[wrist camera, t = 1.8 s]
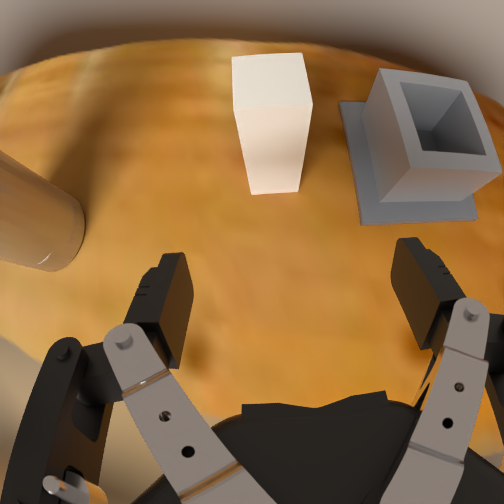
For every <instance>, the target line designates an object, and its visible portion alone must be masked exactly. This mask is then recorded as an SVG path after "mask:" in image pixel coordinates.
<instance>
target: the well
mask: <svg viewBox="0 0 504 504" xmlns="http://www.w3.org/2000/svg"><path fill="white" fill-rule="evenodd" d="M339 109H340V113H341V118H342V122H343V127H344V131H345V136H346V141H347V146H348V151H349V156H350V161H351V166H352V172H353V178H354V183H355V189H356V196H357V202H358V209H359V215H360V223H361V226H367V225H386V224H407V223H430V222H455V221H475V220H477V219H478V216H477V211H476V206H475V202H474V197H473V193H474V192H475V191H477V190H478V189H480V188H481V187H483V186H484V185H486V184H487V183H489V182H490V181H491V180H493V179H494V178H496V177H497V176H499V175H500V174H501V173H503V172H502V169H501V165H500V162H499V159H498V156H497V153H496V150H495V147H494V144H493V141H492V138H491V136H490V133H489V130H488V128H487V125H486V123H485V120H484V118H483V115H482V113H481V110H480V108H479V106H478V103H477V101H476V99H475V97H474V94H473V92H472V90H471V88H470V86H469V84H468V82H467V81H463V80H457V79H452V78H448V77H441V76H437V75H431V74H424V73H417V72H410V71H402V70H393V69H383V68H379V70H378V73H377V76H376V78H375V81H374V84H373V86H372V89H371V91H370V94H369V97H368V99H367V102H347V101H340V102H339Z"/></svg>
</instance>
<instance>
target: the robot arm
mask: <svg viewBox="0 0 504 504" xmlns="http://www.w3.org/2000/svg"><path fill="white" fill-rule="evenodd" d="M84 230H85V218H84V212H83V209H82V207H81V205H80V203H79V202H78V201H77V200H76V199H75V198H74V197H73V196H71V195H69V194H68V193H66V192H65V191H63V190H61V189H60V188H58V187H57V186H55V185H54V184H52V183H50V182H49V181H47V180H46V179H44V178H42V177H41V176H39V175H38V174H36V173H35V172H33V171H31V170H30V169H28V168H27V167H25V166H24V165H22V164H21V163H19V162H17V161H16V160H14V159H13V158H11V157H10V156H8V155H7V154H5V153H4V152H2V151H1V150H0V260H2V261H6V262H10V263H14V264H19V265H23V266H26V267H31V268H35V269H39V270H44V271H48V272H50V271H57V270H60V269H62V268H63V267H65V266H67V265H68V264H69V263H70V262H71V261H72V260H73V258H74V257H75V255H76V254H77V252H78V250H79V248H80V246H81V243H82V240H83V237H84ZM391 283H392V287H393V289H394V291H395V293H396V295H397V297H398V300H399V302H400V304H401V306H402V308H403V311H404V313H405V315H406V318H407V320H408V322H409V324H410V327H411V329H412V331H413V334H414V336H415V339H416V341H417V344H418V346H419V348H420V350H424V349H429V348H431V349H432V351H433V354H432V356H431V358H430V360H429V363H428V366H427V368H426V371H425V374H424V376H423V379H422V381H421V384H420V386H419V389H418V391H417V394H416V396H415V398H414V400H413V402H412V404H411V406H410V405H408V404H405V403H402V402H398V401H392V400H388V399H387V395H386V391H379V392H373V393H367V394H361V395H354V396H350V397H348V398H345V399H342V400H339V401H337V402H334V403H331V404H328V405H325V406H323V407H319V408H309V407H302V406H295V405H288V404H282V403H267V404H242V414H239V415H235V416H232V417H230V418H227V419H225V420H223V421H221V422H219V423H217V424H216V425H214V426H212V427H211V428H210V427H209V425H208V424H207V423H206V421H205V420H204V419H203V417H202V416H201V415H200V413H199V412H198V411H197V409H196V408H195V406H194V405H193V404H192V402H191V401H190V399H189V398H188V397H187V395H186V394H185V392H184V391H183V389H182V388H181V387H180V385H179V384H178V382H177V381H176V379H175V378H174V376H173V375H172V373H171V372H170V371H169V368H170V369H179V365H180V360H181V355H182V350H183V346H184V341H185V336H186V331H187V326H188V322H189V317H190V312H191V308H192V303H193V297H194V291H193V284H192V280H191V276H190V273H189V269H188V265H187V261H186V257H185V254H184V253H183V252H179V253H165V254H163V255H162V257H161V260H160V262H159V265H158V267H153V268H150V269H149V271H148V272H147V273H146V274H145V275H144V276H143V277H142V279H141V281H140V284H139V286H138V287H139V288H137V291H136V293H135V296H134V298H133V300H132V303H131V305H130V308H129V310H128V312H127V315H126V317H125V320H124V322H123V324H121V325H118V326H116V327H115V328H113V329H112V330H110V331H109V332H108V334H107V335H106V336H105V338H104V342H101V343H97V344H92V345H88V346H84V347H82V345H81V344H80V342H79V341H78V340H77V339H76V338H73V337H66V338H62V339H60V340H58V341H57V342H55V343H54V344H53V345H52V346H51V347H50V349H49V351H48V353H47V355H46V357H45V360H44V362H43V364H42V367H41V369H40V372H39V374H38V377H37V379H36V382H35V384H34V387H33V389H32V392H31V395H30V397H29V400H28V403H27V406H26V409H25V412H24V415H23V418H22V420H21V423H20V427H19V430H18V433H17V436H16V439H15V443H14V446H13V450H12V453H11V457H10V461H9V464H8V469H7V473H6V477H5V481H4V485H3V490H2V495H1V500H0V504H108V502H107V498H106V495H105V494H104V492H103V491H102V490H101V489H100V488H99V487H98V483H99V477H100V471H101V465H102V459H103V453H104V447H105V443H106V437H107V432H108V427H109V423H110V418H111V413H112V409H113V404H114V402H117V401H122V400H124V402H125V404H126V406H127V408H128V410H129V412H130V414H131V416H132V418H133V420H134V422H135V424H136V425H137V428H138V429H139V431H140V433H141V435H142V437H143V438H144V440H145V442H146V444H147V446H148V448H149V449H150V451H151V453H152V455H153V456H154V458H155V460H156V461H157V463H158V464H159V466H160V468H161V470H162V471H163V473H164V474H163V475H161V476H160V477H159V478H158V479H157V480H156V481H155V482H154V483H153V484H152V485H151V486H150V487H149V488H148V489H146V490H145V491H144V492H143V493H142V494H141V495H140V496H139V497H138V498H137V499H135V500H134V501H133V502H132V503H131V504H504V455H503V460H502V464H501V466H500V467H499V469H497V468H496V467H495V466H493V465H492V464H491V463H489V462H488V461H487V460H485V459H484V458H483V457H481V456H480V455H478V454H477V453H476V452H474V451H473V450H472V449H470V448H469V447H468V445H469V442H470V439H471V436H472V432H473V429H474V426H475V422H476V419H477V415H478V411H479V407H480V403H481V399H482V395H483V390H484V386H485V388H486V391H487V394H488V396H489V399H490V402H491V405H492V408H493V411H494V414H495V417H496V421H497V424H498V427H499V431H500V434H501V438H502V441H503V445H504V315H500V314H491V313H489V312H488V310H487V308H486V307H485V306H484V305H483V304H482V303H481V302H479V301H477V300H475V299H472V298H467V297H466V296H465V294H464V293H463V291H462V289H461V288H460V286H459V285H458V283H457V282H456V280H455V279H454V277H453V276H452V274H450V271H449V270H448V268H447V267H445V264H444V263H443V261H442V260H441V258H440V257H439V256H438V255H436V254H435V253H434V252H432V251H431V250H430V249H426V248H425V247H424V246H423V244H422V243H421V241H420V240H419V239H418V238H417V237H412V238H399V239H398V240H397V243H396V248H395V253H394V258H393V263H392V268H391Z"/></svg>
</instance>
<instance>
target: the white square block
mask: <svg viewBox="0 0 504 504" xmlns="http://www.w3.org/2000/svg"><path fill="white" fill-rule="evenodd" d="M232 82H233V110H234V115H235V119H236V124H237V129H238V133H239V138H240V143H241V147H242V152H243V157H244V162H245V166H246V171H247V176H248V181H249V186H250V190H251V195H255V194H269V193H285V192H298V190H299V184H300V178H301V173H302V167H303V161H304V156H305V150H306V144H307V138H308V132H309V126H310V119H311V113H312V107H313V103H312V98H311V93H310V88H309V83H308V78H307V73H306V69H305V64H304V60H303V55H302V53H279V54H261V55H248V56H237V57H232Z"/></svg>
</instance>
